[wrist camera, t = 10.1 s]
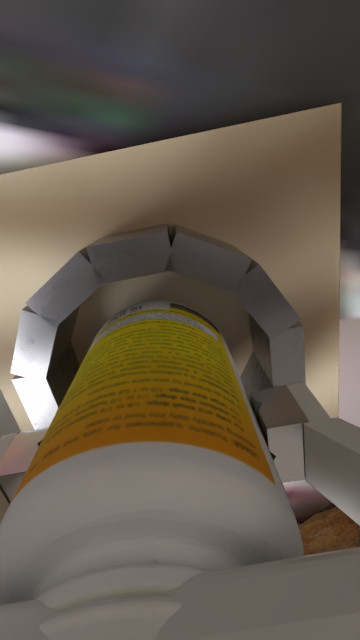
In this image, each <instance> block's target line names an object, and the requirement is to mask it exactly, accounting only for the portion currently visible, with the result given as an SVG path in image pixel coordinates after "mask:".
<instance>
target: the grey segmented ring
mask: <svg viewBox="0 0 360 640" xmlns="http://www.w3.org/2000/svg"><path fill="white" fill-rule="evenodd" d="M167 271H171V272H174V273H177V274H180V275H183V276H186V277H188V278H191V279H194V280H197V281H200V282H203V283H206V284H209V285H212V286H215V287H218V288H221V289H224V290H227V291H230V292H232V293H233V294H234V295H235V296H236V298H237V299H238V300H239V301H240V302H241V304H242V305H243V306H244V307H245V308H246V310H247V311H248V312H249V321H250V330H251V339H252V348H253V351H252V353H251V355H250V357H249V360H248V362H247V364H246V366H245V368H244V370H243V372H242V374H241V376H240V379H241V381H242V384H243V386H244V389H245V391H246V394H247V396H248V398H249V392H250V391H255V390H261V389H266V388H272V387H277V386H282V385H284V384H289V383H294V382H298V381H302V382H304V383H305V384H306V377H305V351H304V326H303V325H302V324H301V323H300V322H299V320H301V318H300V317H299V316H298V314H297V313H296V312H295V310H294V309H293V308H292V306H291V305H290V304H289V303H288V301H287V300H286V299H285V297H284V296H283V295H282V293H281V292H280V291H279V289H278V288H277V287H276V285H275V284H274V283H273V282H272V280H271V279H270V278H269V276H268V275H267V274H266V272H265V271H264V270H263V268H262V267H261V266H260V265H259V263H257V262H256V261H254V260H253V259H252V258H250V257H249V256H248V255H246V254H245V253H243V252H242V251H241V250H239V249H238V248H236V247H235V246H234V245H231V244H229V243H226V242H223V241H220V240H218V239H215V238H212V237H209V236H207V235H204V234H201V233H198V232H196V231H193V230H190V229H187V228H185V227H182V226H179V225H176V224H174V227H173V230H172V233H171V236H170V233H169V228H168V223H167V224H162V225H157V226H152V227H147V228H142V229H137V230H132V231H127V232H122V233H117V234H112V235H107V236H104V237H102V238H101V239H98V240H97V241H95V242H93V243H92V244H90V245H88V246H86V247H85V248H83V249H81V250H80V251H78V252H77V253H76V254H75V255H74V256H73V257H72V258H71V259H70V260H69V261H68V262H67V263H66V264H65V265H64V266H63V267H62V268H61V269H60V270H59V271H57V272H56V273H55V274H54V275H53V276H52V277H51V278H50V279H49V280H48V281H47V282H46V283H45V284H44V285H43V286H42V287H41V288H40V289H39V290H38V291H37V292H36V293H35V294H34V295H33V296H32V297H31V298H30V299H29V300H28V301H27V302H26V303H25V304H27V306H26V307H24V308H23V309H22V310H21V315H20V321H19V326H18V332H17V338H16V344H15V350H14V355H13V361H12V367H11V374H15V376H14V378H13V379H12V382H13V384H14V386H15V389H16V391H17V393H18V395H19V397H20V399H21V401H22V404H23V406H24V408H25V410H26V412H27V414H28V416H29V419H30V421H31V423H32V425H33V427H34V429H35V430H36V429H42V428H48V427H49V426H50V424H51V422H52V420H53V418H54V416H55V414H56V412H57V410H58V408H59V406H60V404H61V403H62V401H63V399H64V397H65V395H66V393H67V391H68V389H69V387H70V386H71V384H72V382H73V380H74V378H75V376H76V374H77V372H78V370H79V368H80V365H79V363H78V360H77V357H76V354H75V351H74V349H73V346H72V343H71V339H72V335H73V331H74V326H75V322H76V318H77V314H78V310H79V306H80V305H81V304H82V303H83V302H84V301H85V300H86V299H87V298H88V297H89V296H90V295H92V294H93V293H94V292H95V291H96V290H97V289H98V288H99V287H100V286H101V285H102V284H106V283H111V282H116V281H121V280H126V279H131V278H137V277H142V276H147V275H152V274H157V273H162V272H167ZM249 401H250V399H249Z"/></svg>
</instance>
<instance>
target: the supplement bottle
mask: <svg viewBox="0 0 360 640" xmlns="http://www.w3.org/2000/svg"><path fill="white" fill-rule="evenodd" d="M300 556H304V549H303V542H302V538H301V534H300V530H299V527H298V524H297V521H296V518H295V514H294V512H293V509H292V507H291V504H290V502H289V499H288V496H287V494H286V491H285V489H284V486H283V484H282V481H281V479H280V476H279V474H278V471H277V469H276V466H275V464H274V461H273V459H272V456H271V454H270V451H269V449H268V447H267V444H266V442H265V439H264V437H263V434H262V432H261V429H260V427H259V424H258V421H257V419H256V416H255V414H254V411H253V409H252V406H251V404H250V401H249V398H248V396H247V394H246V391H245V389H244V386H243V384H242V381H241V379H240V376H239V374H238V371H237V369H236V366H235V364H234V361H233V359H232V356H231V354H230V351H229V349H228V346H227V344H226V342H225V340H224V338H223V336H222V334H221V332H220V331H219V330H218V328H217V327H216V326H215V325H214V323H213V322H212V321H211V320H210V319H208V318H207V317H206V316H205V315H203V314H202V313H201V312H199V311H197V310H195V309H194V308H192V307H189V306H187V305H184V304H181V303H178V302H173V301H165V300H155V301H146V302H142V303H137V304H135V305H132V306H129V307H127V308H125V309H123V310H121V311H120V312H118V313H117V314H115V315H114V316H113V317H111V318H110V319H109V320H108V321H107V322H106V323H105V324H104V325H103V327H102V328H101V329H100V331H99V332H98V334H97V335H96V337H95V338H94V340H93V342H92V344H91V346H90V348H89V350H88V352H87V354H86V356H85V358H84V360H83V362H82V364H81V366H80V368H79V370H78V372H77V374H76V376H75V378H74V380H73V382H72V384H71V386H70V387H69V389H68V391H67V393H66V395H65V397H64V399H63V401H62V403H61V404H60V406H59V408H58V410H57V412H56V414H55V416H54V418H53V420H52V422H51V424H50V426H49V428H48V430H47V432H46V434H45V436H44V438H43V440H42V442H41V444H40V446H39V448H38V450H37V452H36V454H35V456H34V458H33V459H32V461H31V463H30V465H29V467H28V469H27V471H26V473H25V475H24V477H23V479H22V481H21V483H20V485H19V487H18V489H17V491H16V493H15V495H14V497H13V499H12V501H11V503H10V505H9V507H8V509H7V511H6V513H5V515H4V517H3V519H2V521H1V524H0V605H3V604H9V603H16V602H22V601H28V600H34V599H36V600H40V601H41V602H43V603H44V604H45V605H46V606H47V607H50V608H56V609H58V610H59V611H58V612H56V613H55V614H54V615H53V616H52V617H50V618H49V619H47V620H46V621H44V622H43V623H41V624H40V625H39V627H40V630H41V631H42V632H43V633H44V634H45V635H46V636H47V637H48V640H154V639H155V637H156V636H157V634H158V632H159V630H160V628H161V627H162V626H163V625H164V624H165V622H166V621H167V619H168V618H169V617H170V616H171V615H173V614H174V613H175V612H176V611H177V610H178V609H179V608H180V607H181V603H180V602H179V601H178V600H177V599H175V598H173V597H172V596H170V595H168V594H166V593H167V592H168V591H169V590H171V589H174V588H176V587H179V586H181V585H182V584H183V583H184V582H185V581H186V580H188V579H190V578H192V577H193V576H195V575H197V574H200V573H203V572H208V571H214V570H220V569H226V568H232V567H239V566H245V565H251V564H257V563H263V562H269V561H275V560H281V559H287V558H294V557H300Z"/></svg>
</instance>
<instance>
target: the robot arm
mask: <svg viewBox="0 0 360 640" xmlns="http://www.w3.org/2000/svg"><path fill="white" fill-rule="evenodd" d="M249 399H250V404H251V406H252V409H253V411H254V414H255V416H256V419H257V421H258V424H259V427H260V429H261V432H262V434H263V437H264V439H265V442H266V444H267V447H268V449H269V451H270V454H271V456H272V459H273V461H274V464H275V466H276V469H277V471H278V474H279V476H280V479H281V481H282V483H283V482H290V481H297V480H304V479H306V481H307V482H308V483H309V484H310V485H311V486H313V487H314V488H315V489H316V490H317V491H319V492H320V493H321V494H322V495H323V496H325V497H326V498H327V499H328V500H329V501H331V502H332V503H333V504H334V505H336V506H337V507H338V508H339V509H340V510H342V511H343V512H344V513H345V514H346V515H348V516H349V517H350V518H351V519H352V520H354V521H355V522H356V523H357V524H359V525H360V428H359V427H357V426H355V425H353V424H350V423H348V422H346V421H344V420H341V419H339V418H337V417H336V418H331V417H330V416H329V415H328V413H327V412H326V411H325V409H324V408H323V407H322V405H321V404H320V403H319V401H318V400H317V399H316V397H315V396H314V395H313V393H312V392H311V391H310V389H309V388H308V387H307V385H306V384H305V383H304V382H302V381H298V382H294V383H289V384H284V385H282V386H277V387H272V388H266V389H261V390H255V391H250V392H249ZM48 428H49V427H48ZM48 428H42V429H36V430H29V431H23V432H17V433H12V434H6V435H4V436H2V437H0V524H1V521H2V519H3V517H4V515H5V513H6V511H7V509H8V507H9V505H10V503H11V501H12V499H13V497H14V495H15V493H16V491H17V489H18V487H19V485H20V483H21V481H22V479H23V477H24V475H25V473H26V471H27V469H28V467H29V465H30V463H31V461H32V459H33V458H34V456H35V454H36V452H37V450H38V448H39V446H40V444H41V442H42V440H43V438H44V436H45V434H46V432H47V430H48ZM166 594H168V595H170V596H172V597H173V598H175V599H177V600H178V601H179V602H180V603H181V607H180V608H179V609H178V610H177V611H176V612H175V613H174V614H173V615H171V616H170V617H169V618H168V619H167V621H166V622H165V624H164V625H163V626H162V627H161V628H160V630H159V632H158V634H157V636H156V637H155V639H154V640H360V547H355V548H349V549H343V550H337V551H331V552H324V553H318V554H312V555H306V556H300V557H294V558H287V559H281V560H275V561H269V562H263V563H257V564H251V565H245V566H239V567H232V568H226V569H220V570H214V571H208V572H203V573H200V574H197V575H195V576H193V577H192V578H190V579H188V580H186V581H185V582H184V583H183V584H182V585H181V586H179V587H176V588H174V589H171V590H169V591H168V592H167V593H166ZM58 611H59V610H58V609H56V608H50V607H47V606H46V605H45V604H44V603H43V602H41V601H40V600H36V599H34V600H28V601H22V602H16V603H9V604H3V605H0V640H48V637H47V636H46V635H45V634H44V633H43V632H42V631H41V630H40V627H39V625H40V624H41V623H43V622H44V621H46V620H47V619H49V618H50V617H52V616H53V615H54V614H55V613H56V612H58Z"/></svg>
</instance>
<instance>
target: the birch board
mask: <svg viewBox="0 0 360 640" xmlns="http://www.w3.org/2000/svg"><path fill="white" fill-rule="evenodd" d="M340 200H341V103H337V104H333V105H328V106H323V107H318V108H314V109H309V110H304V111H299V112H295V113H290V114H285V115H280V116H276V117H271V118H266V119H261V120H257V121H252V122H247V123H242V124H238V125H233V126H228V127H223V128H219V129H214V130H209V131H204V132H200V133H195V134H190V135H185V136H181V137H176V138H171V139H166V140H162V141H157V142H152V143H147V144H143V145H138V146H133V147H128V148H124V149H119V150H114V151H109V152H105V153H100V154H95V155H90V156H86V157H81V158H76V159H71V160H67V161H62V162H57V163H52V164H48V165H43V166H38V167H33V168H29V169H24V170H19V171H14V172H10V173H5V174H0V389H1V391H2V393H3V395H4V397H5V399H6V401H7V403H8V405H9V407H10V409H11V412H12V414H13V416H14V417H15V419H16V422H17V424H18V426H19V428H20V430H21V432H23V431H29V430H35V429H34V427H33V425H32V423H31V421H30V419H29V416H28V414H27V412H26V410H25V408H24V406H23V404H22V401H21V399H20V397H19V395H18V393H17V391H16V389H15V386H14V384H13V382H12V379H13V378H14V376H15V374H11V367H12V361H13V355H14V350H15V344H16V338H17V332H18V326H19V321H20V315H21V310H22V309H23V308H24V307H26V306H27V304H25V303H26V302H27V301H28V300H29V299H30V298H31V297H32V296H33V295H34V294H35V293H36V292H37V291H38V290H39V289H40V288H41V287H42V286H43V285H44V284H45V283H46V282H47V281H48V280H49V279H50V278H51V277H52V276H53V275H54V274H55V273H56V272H57V271H59V270H60V269H61V268H62V267H63V266H64V265H65V264H66V263H67V262H68V261H69V260H70V259H71V258H72V257H73V256H74V255H75V254H76V253H77V252H78V251H80V250H81V249H83V248H85V247H86V246H88V245H90V244H92V243H93V242H95V241H97V240H98V239H101V238H102V237H104V236H107V235H112V234H117V233H122V232H127V231H132V230H137V229H142V228H147V227H152V226H157V225H162V224H167V223H168V228H169V233H170V236H171V233H172V230H173V227H174V224H176V225H179V226H182V227H185V228H187V229H190V230H193V231H196V232H198V233H201V234H204V235H207V236H209V237H212V238H215V239H218V240H220V241H223V242H226V243H229V244H231V245H234V246H235V247H236V248H238V249H239V250H241V251H242V252H243V253H245V254H246V255H248V256H249V257H250V258H252V259H253V260H254V261H256V262H257V263H259V265H260V266H261V267H262V268H263V270H264V271H265V272H266V274H267V275H268V276H269V278H270V279H271V280H272V282H273V283H274V284H275V285H276V287H277V288H278V289H279V291H280V292H281V293H282V295H283V296H284V297H285V299H286V300H287V301H288V303H289V304H290V305H291V306H292V308H293V309H294V310H295V312H296V313H297V314H298V316H299V317H300V318H301V320H299V322H300V323H301V324H302V325H303V326H304V351H305V377H306V385H307V387H308V388H309V389H310V391H311V392H312V393H313V395H314V396H315V397H316V399H317V400H318V401H319V403H320V404H321V405H322V407H323V408H324V409H325V411H326V412H327V413H328V415H329V416H330V417H331V418H336V417H337V418H338V400H339V399H338V398H339V397H338V396H339V300H340ZM155 300H165V301H173V302H178V303H181V304H184V305H187V306H189V307H192V308H194V309H195V310H197V311H199V312H201V313H202V314H203V315H205V316H206V317H207V318H208V319H210V320H211V321H212V322H213V323H214V325H215V326H216V327H217V328H218V330H219V331H220V332H221V334H222V336H223V338H224V340H225V342H226V344H227V346H228V349H229V351H230V354H231V356H232V359H233V361H234V364H235V366H236V369H237V371H238V374H239V376H241V374H242V372H243V370H244V368H245V366H246V364H247V362H248V360H249V357H250V355H251V353H252V351H253V348H252V339H251V330H250V321H249V312H248V311H247V310H246V308H245V307H244V306H243V305H242V304H241V302H240V301H239V300H238V299H237V298H236V296H235V295H234V294H233V293H232V292H230V291H227V290H224V289H221V288H218V287H215V286H212V285H209V284H206V283H203V282H200V281H197V280H194V279H191V278H188V277H186V276H183V275H180V274H177V273H174V272H171V271H167V272H162V273H157V274H152V275H147V276H142V277H137V278H131V279H126V280H121V281H116V282H111V283H106V284H102V285H101V286H100V287H99V288H98V289H97V290H96V291H95V292H94V293H93V294H92V295H90V296H89V297H88V298H87V299H86V300H85V301H84V302H83V303H82V304H81V305H80V306H79V310H78V314H77V318H76V322H75V326H74V331H73V335H72V339H71V343H72V346H73V349H74V351H75V354H76V357H77V360H78V363H79V365H80V366H81V364H82V362H83V360H84V358H85V356H86V354H87V352H88V350H89V348H90V346H91V344H92V342H93V340H94V338H95V337H96V335H97V334H98V332H99V331H100V329H101V328H102V327H103V325H104V324H105V323H106V322H107V321H108V320H109V319H110V318H111V317H113V316H114V315H115V314H117V313H118V312H120V311H121V310H123V309H125V308H127V307H129V306H132V305H135V304H137V303H142V302H146V301H155Z"/></svg>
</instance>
